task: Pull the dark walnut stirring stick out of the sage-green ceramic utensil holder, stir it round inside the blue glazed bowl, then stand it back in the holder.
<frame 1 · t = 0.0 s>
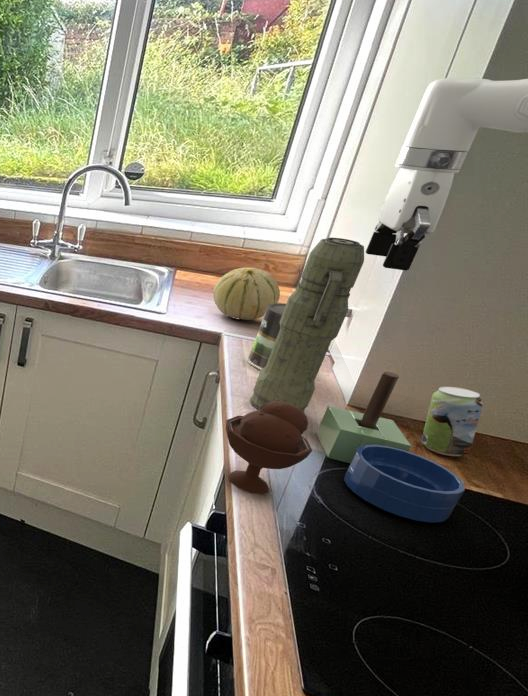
hand: (385, 261, 100), 33 cm above the countertop, tool pointing down, fingers open, 9 cm apart
stirring stick: (371, 414, 101), in the utensil holder
thermos: (275, 408, 118), on the countertop
mixing bowl: (392, 498, 93), on the countertop
beverage can: (436, 450, 106), on the countertop
cantaloupe: (237, 318, 164), on the countertop
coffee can: (273, 367, 136), on the countertop
ice cream bowl: (247, 484, 95), on the countertop
utensil holder: (353, 452, 104), on the countertop
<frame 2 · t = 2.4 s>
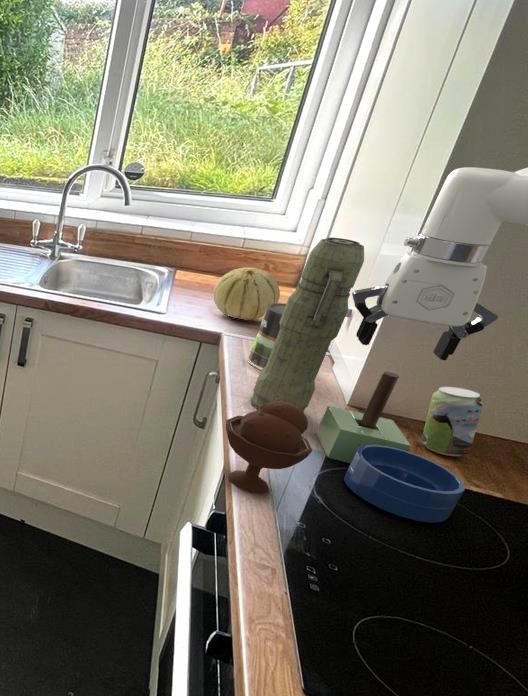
hand: (400, 349, 96), 21 cm above the countertop, tool pointing down, fingers open, 9 cm apart
nothing on the countertop moved.
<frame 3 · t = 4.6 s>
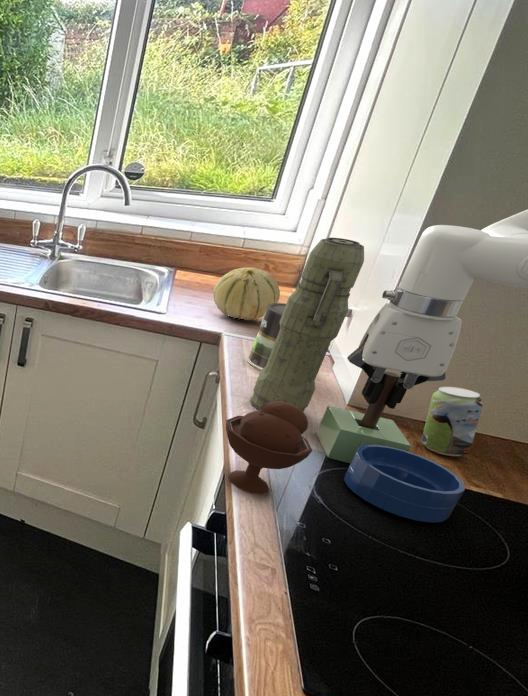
hand: (378, 402, 100), 11 cm above the countertop, tool pointing down, fingers closed on stirring stick, 2 cm apart
stirring stick: (372, 414, 101), in the utensil holder, touching gripper
everything else where it was.
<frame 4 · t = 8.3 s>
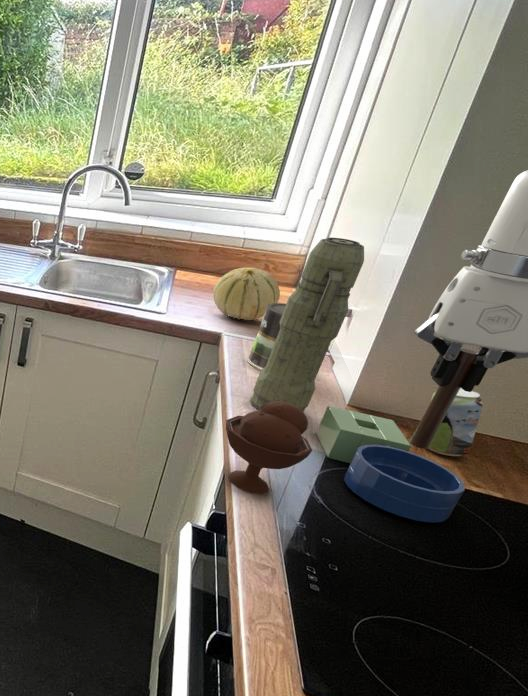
hand: (451, 384, 85), 21 cm above the countertop, tool pointing down, fingers closed on stirring stick, 2 cm apart
stirring stick: (442, 399, 86), point 18 cm above the countertop, touching gripper
everything else where it was.
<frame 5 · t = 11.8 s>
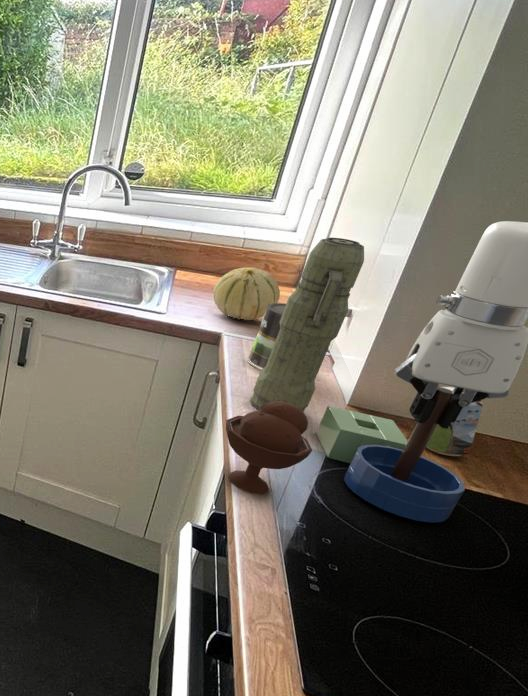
hand: (428, 420, 89), 14 cm above the countertop, tool pointing down, fingers closed on stirring stick, 2 cm apart
stirring stick: (421, 435, 90), point 11 cm above the countertop, touching gripper
everything else where it was.
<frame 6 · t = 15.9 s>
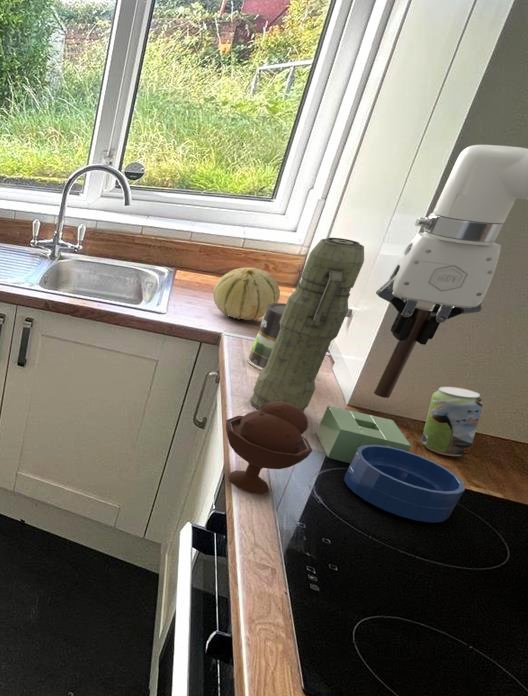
hand: (408, 338, 95), 23 cm above the countertop, tool pointing down, fingers closed on stirring stick, 2 cm apart
stirring stick: (401, 353, 96), point 20 cm above the countertop, touching gripper
everything else where it was.
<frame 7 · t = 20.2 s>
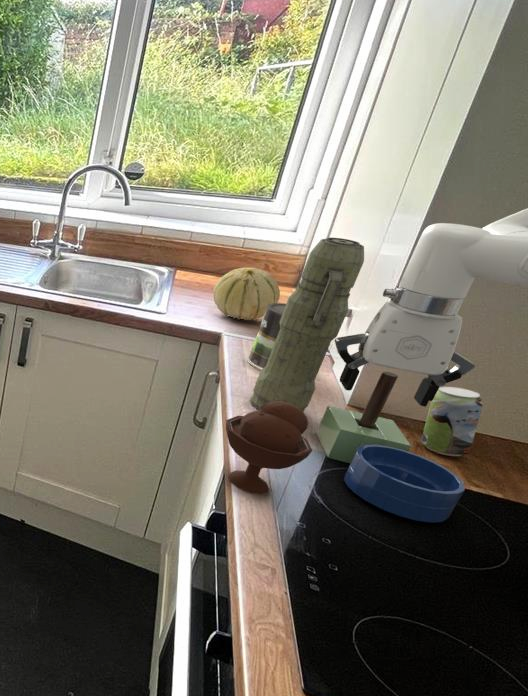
hand: (381, 394, 99), 12 cm above the countertop, tool pointing down, fingers open, 9 cm apart
stirring stick: (370, 414, 101), in the utensil holder
everything else where it was.
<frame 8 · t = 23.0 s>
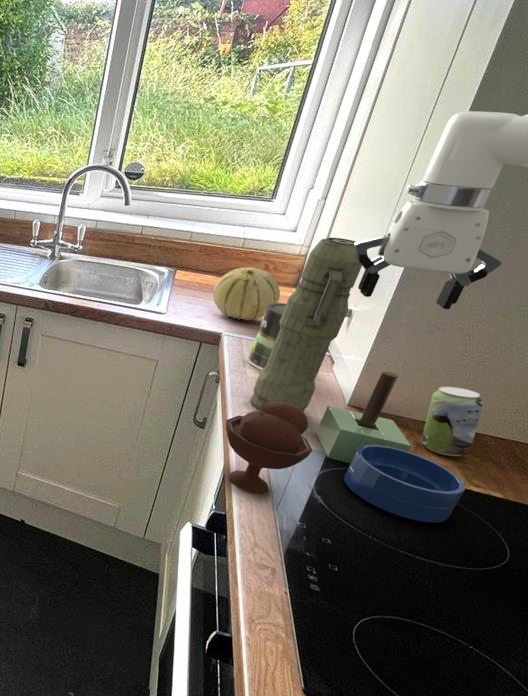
hand: (402, 300, 96), 28 cm above the countertop, tool pointing down, fingers open, 9 cm apart
nothing on the countertop moved.
at the end: stirring stick 0.1 cm off-centre in the utensil holder, point 8.0 cm above the utensil holder's base; stirring stick tilted 0° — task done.
